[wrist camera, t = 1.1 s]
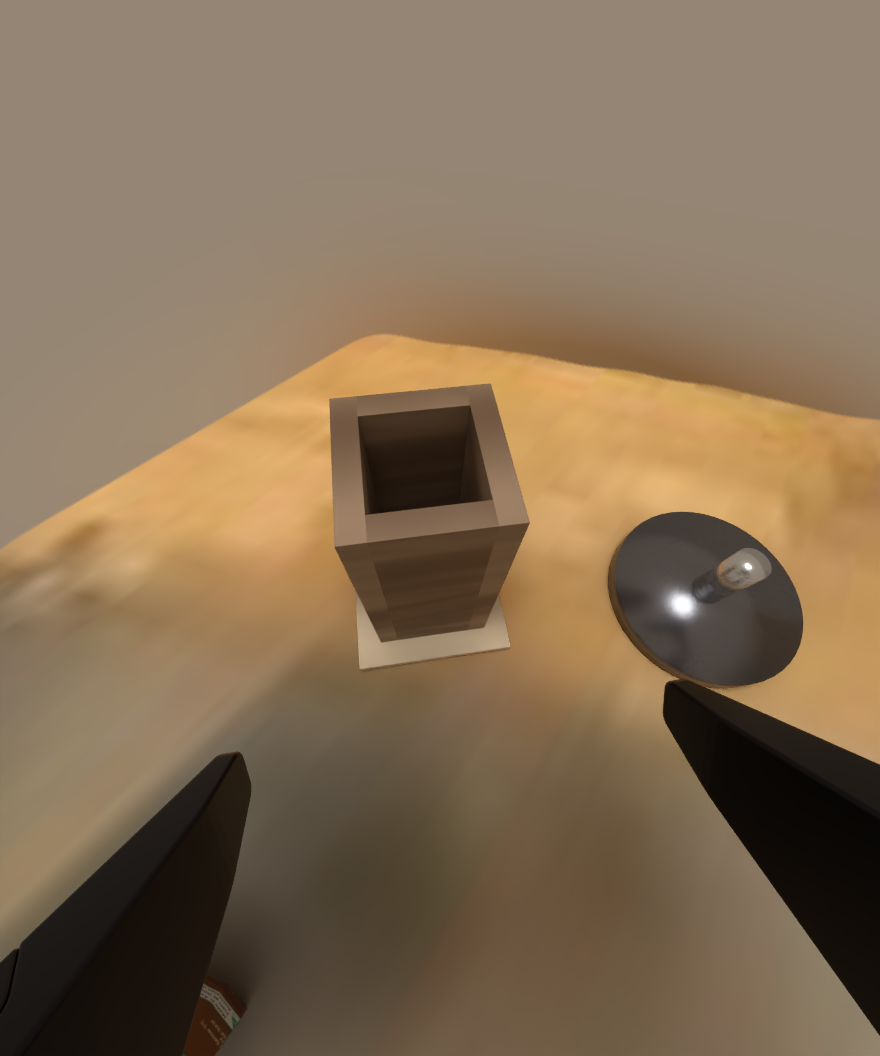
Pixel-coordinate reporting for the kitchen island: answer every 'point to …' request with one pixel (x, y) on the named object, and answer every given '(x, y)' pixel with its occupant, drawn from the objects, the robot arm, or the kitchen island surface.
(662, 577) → the hub
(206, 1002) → the food container
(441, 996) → the kitchen island surface
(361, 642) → the cork pad
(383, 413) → the collar
